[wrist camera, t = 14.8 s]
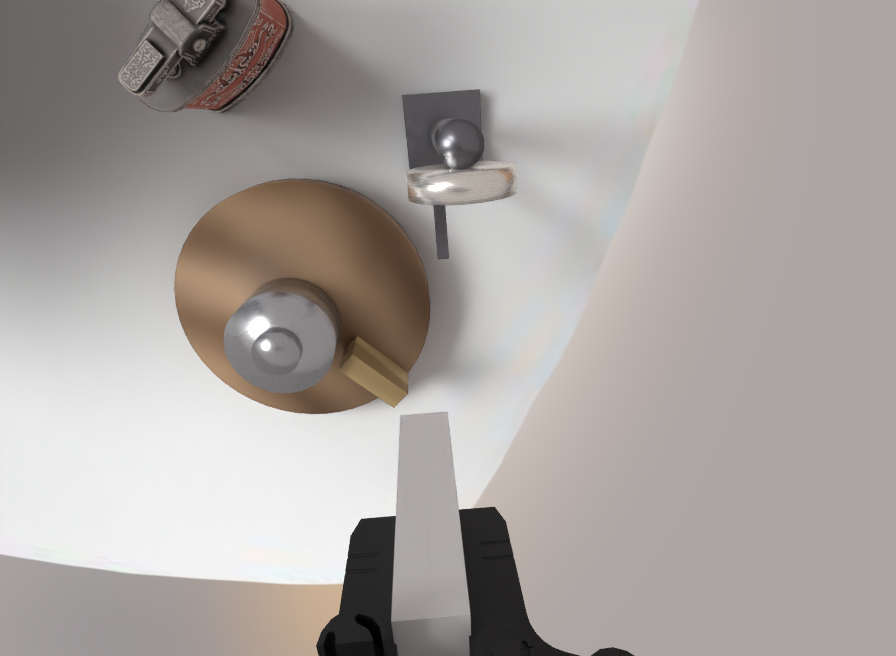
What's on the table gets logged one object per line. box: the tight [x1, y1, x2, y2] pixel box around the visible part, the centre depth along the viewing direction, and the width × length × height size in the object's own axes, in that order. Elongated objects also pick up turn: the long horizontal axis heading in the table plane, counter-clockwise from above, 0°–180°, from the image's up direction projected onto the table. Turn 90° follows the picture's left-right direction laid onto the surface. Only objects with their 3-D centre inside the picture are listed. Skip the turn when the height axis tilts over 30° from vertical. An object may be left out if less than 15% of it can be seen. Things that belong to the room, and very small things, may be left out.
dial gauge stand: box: [402, 89, 516, 259], centre depth 26 cm, size 5×8×14 cm, turn 4°
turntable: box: [174, 179, 430, 414], centre depth 33 cm, size 18×18×5 cm
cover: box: [223, 278, 342, 393], centre depth 31 cm, size 7×7×5 cm
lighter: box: [118, 0, 294, 113], centre depth 24 cm, size 8×3×10 cm, turn 132°
